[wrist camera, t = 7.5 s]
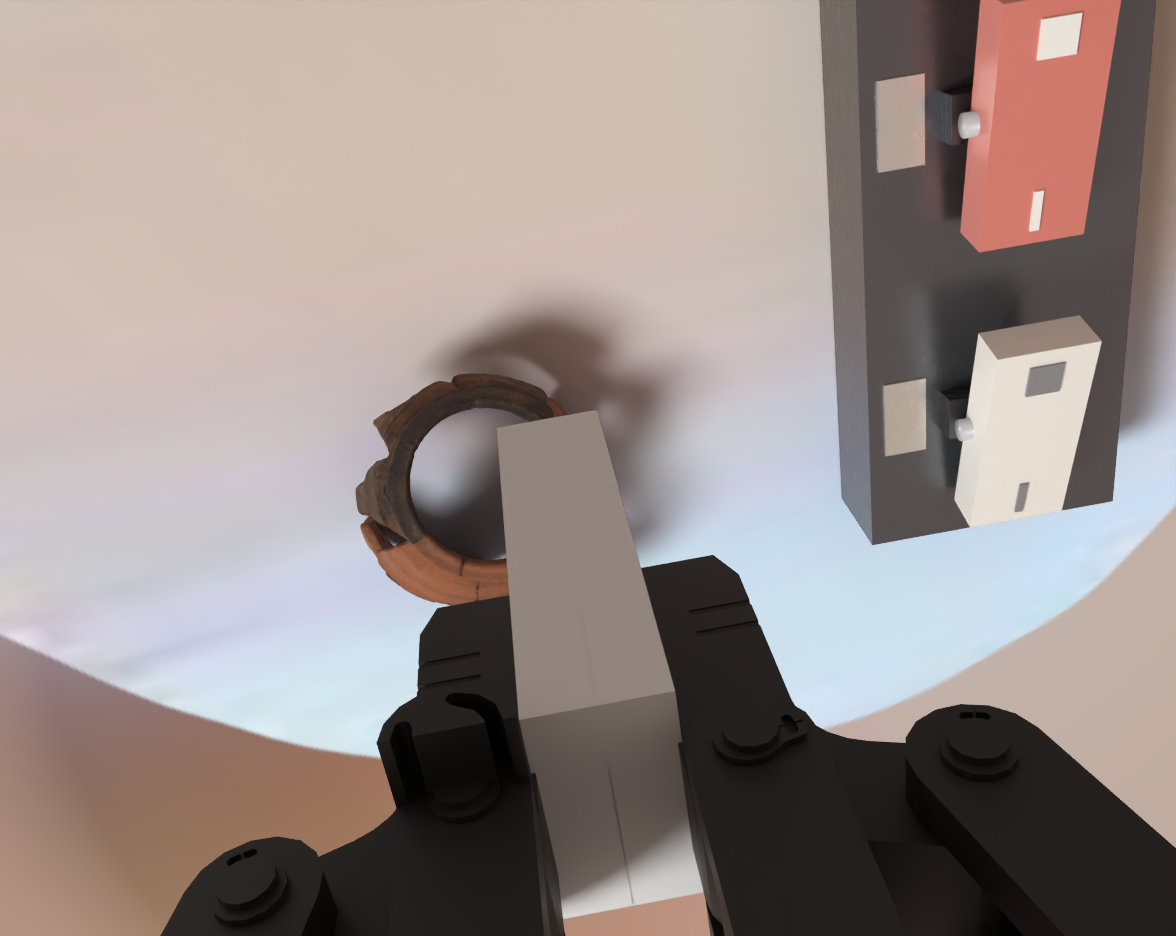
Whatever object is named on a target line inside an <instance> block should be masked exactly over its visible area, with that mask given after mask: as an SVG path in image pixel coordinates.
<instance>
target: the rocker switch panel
mask: <svg viewBox="0 0 1176 936" xmlns="http://www.w3.org/2000/svg"><path fill="white" fill-rule="evenodd" d="M1155 6H1156V0H1121V4H1120V10H1119V17H1118V23H1117V29H1116V35H1115V42H1114V48H1113V54H1112V60H1111V67H1110V73H1109V79H1108V85H1107V91H1106V98H1105V104H1104V110H1103V116H1102V123H1101V129H1100V135H1099V141H1098V148H1097V154H1096V160H1095V166H1094V172H1093V179H1092V185H1091V191H1090V197H1089V204H1088V210H1087V216H1086V222H1085V229H1084V234H1081V235H1076V236H1070V237H1064V238H1059V239H1053V240H1047V241H1042V242H1036V243H1030V244H1025V245H1019V246H1013V247H1008V248H1002V249H996V250H991V251H985V252H978V251H977V250H976V249H975V248H974V246H973V245H972V244H971V243H970V242H969V241H968V240H967V239H966V238H965V237H964V236H963V235H962V234H961V233H960V229H961V218H962V206H963V195H964V183H965V172H966V160H967V148H968V138H965V139H963V138H961V136H960V134H959V130H958V118H959V115H960V114H961V113H965V112H971V102H972V91H973V79H974V68H975V56H976V44H977V33H978V21H979V10H980V0H820V20H821V42H822V65H823V87H824V109H825V132H826V154H827V177H828V199H829V222H830V244H831V266H832V289H833V311H834V334H835V356H836V378H837V401H838V423H839V446H840V468H841V491H842V499H843V501H844V502H845V504H846V505H847V507H848V508H849V510H850V511H851V513H852V514H853V516H854V518H855V519H856V521H857V522H858V524H859V525H860V527H861V528H862V530H863V531H864V533H865V534H866V536H867V538H868V539H869V541H870V542H871V544H872V545H875V544H881V543H886V542H892V541H897V540H903V539H908V538H914V537H919V536H925V535H930V534H936V533H941V532H946V531H952V530H957V529H963V528H968V527H970V526H969V524H968V523H967V521H966V519H965V517H964V516H963V514H962V512H961V511H960V509H959V507H958V505H957V504H956V502H955V500H954V498H955V491H956V484H957V478H958V471H959V464H960V457H961V450H962V443H963V441H960V440H959V439H958V438H957V435H956V432H955V422H956V420H959V419H964V418H966V416H967V409H968V402H969V395H970V388H971V381H972V374H973V367H974V361H975V354H976V347H977V340H978V333H983V332H988V331H994V330H999V329H1005V328H1011V327H1016V326H1022V325H1028V324H1033V323H1039V322H1044V321H1050V320H1056V319H1061V318H1067V317H1072V316H1078V315H1080V316H1081V318H1082V319H1083V320H1084V321H1085V322H1086V323H1087V325H1088V326H1089V327H1090V328H1091V329H1092V330H1093V332H1094V333H1095V334H1096V335H1097V336H1098V337H1099V339H1100V340H1101V341H1102V342H1101V347H1100V351H1099V355H1098V359H1097V364H1096V368H1095V372H1094V376H1093V380H1092V385H1091V389H1090V393H1089V397H1088V402H1087V406H1086V410H1085V414H1084V418H1083V423H1082V427H1081V431H1080V435H1079V440H1078V444H1077V448H1076V452H1075V457H1074V461H1073V465H1072V469H1071V473H1070V478H1069V482H1068V486H1067V490H1066V495H1065V499H1064V503H1063V507H1062V510H1067V509H1072V508H1078V507H1083V506H1089V505H1094V504H1100V503H1105V502H1110V501H1113V490H1114V479H1115V467H1116V456H1117V444H1118V433H1119V421H1120V410H1121V398H1122V387H1123V375H1124V364H1125V352H1126V341H1127V329H1128V318H1129V306H1130V295H1131V283H1132V271H1133V260H1134V248H1135V237H1136V225H1137V214H1138V202H1139V191H1140V179H1141V168H1142V156H1143V145H1144V133H1145V122H1146V110H1147V99H1148V87H1149V76H1150V64H1151V52H1152V41H1153V29H1154V18H1155Z"/></svg>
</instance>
